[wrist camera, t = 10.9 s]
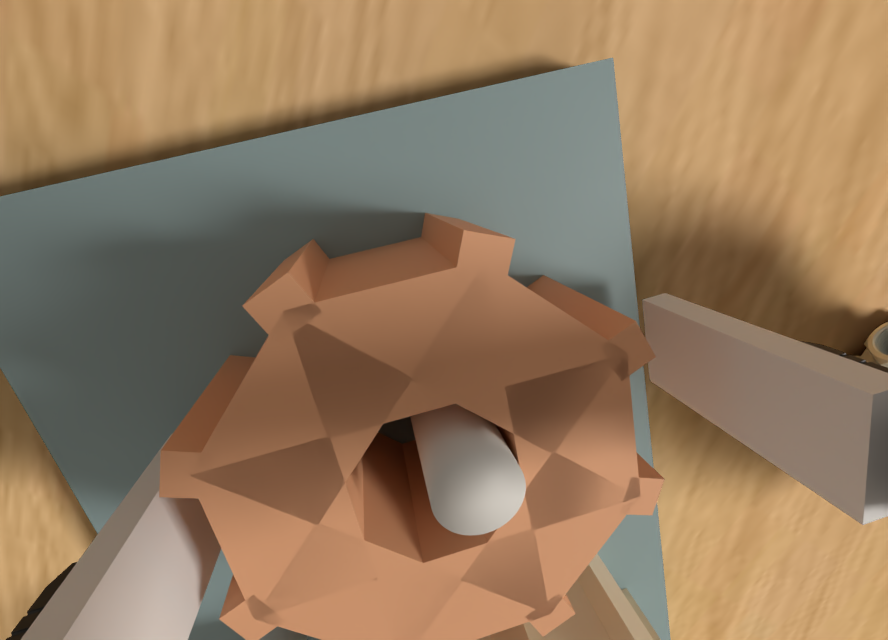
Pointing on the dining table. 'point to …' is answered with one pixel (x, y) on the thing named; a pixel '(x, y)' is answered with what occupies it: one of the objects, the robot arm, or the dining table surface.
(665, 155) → the dining table surface
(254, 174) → the gear board
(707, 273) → the dining table surface
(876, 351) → the pneumatic valve
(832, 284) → the dining table surface
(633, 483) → the loose gear
